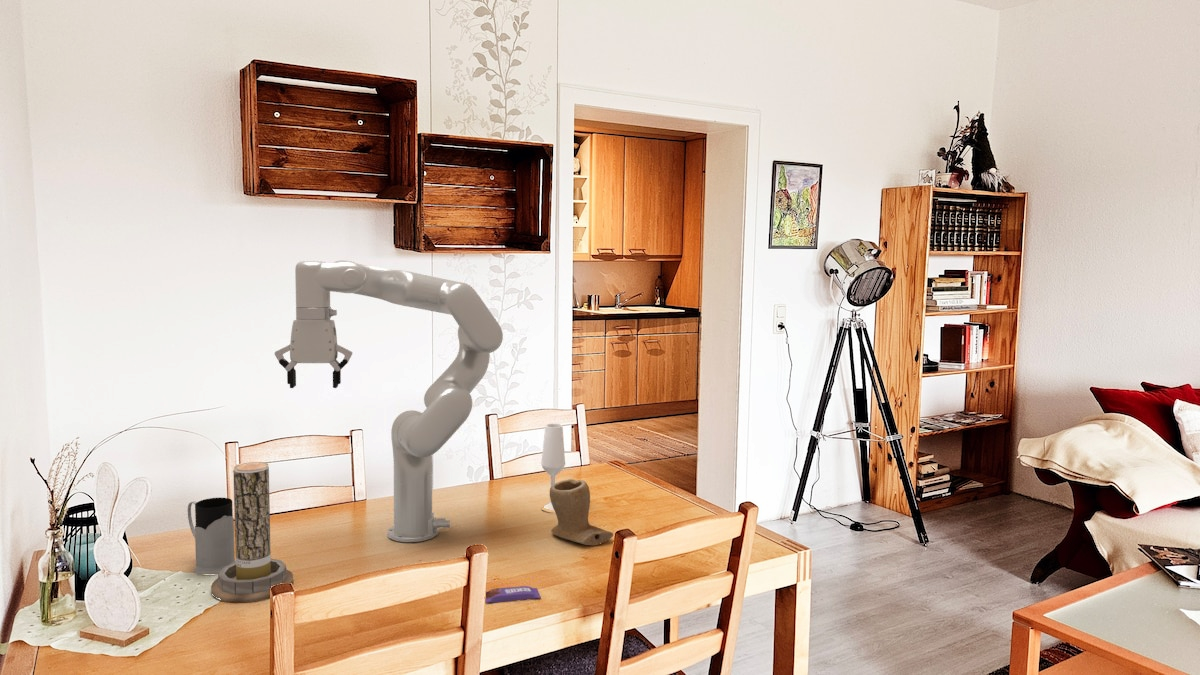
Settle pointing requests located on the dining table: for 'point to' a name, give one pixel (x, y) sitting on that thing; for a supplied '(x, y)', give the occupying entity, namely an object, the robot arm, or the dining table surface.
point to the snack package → (511, 594)
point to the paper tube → (252, 520)
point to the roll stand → (249, 584)
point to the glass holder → (213, 534)
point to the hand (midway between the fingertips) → (314, 387)
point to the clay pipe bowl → (575, 513)
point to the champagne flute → (553, 453)
